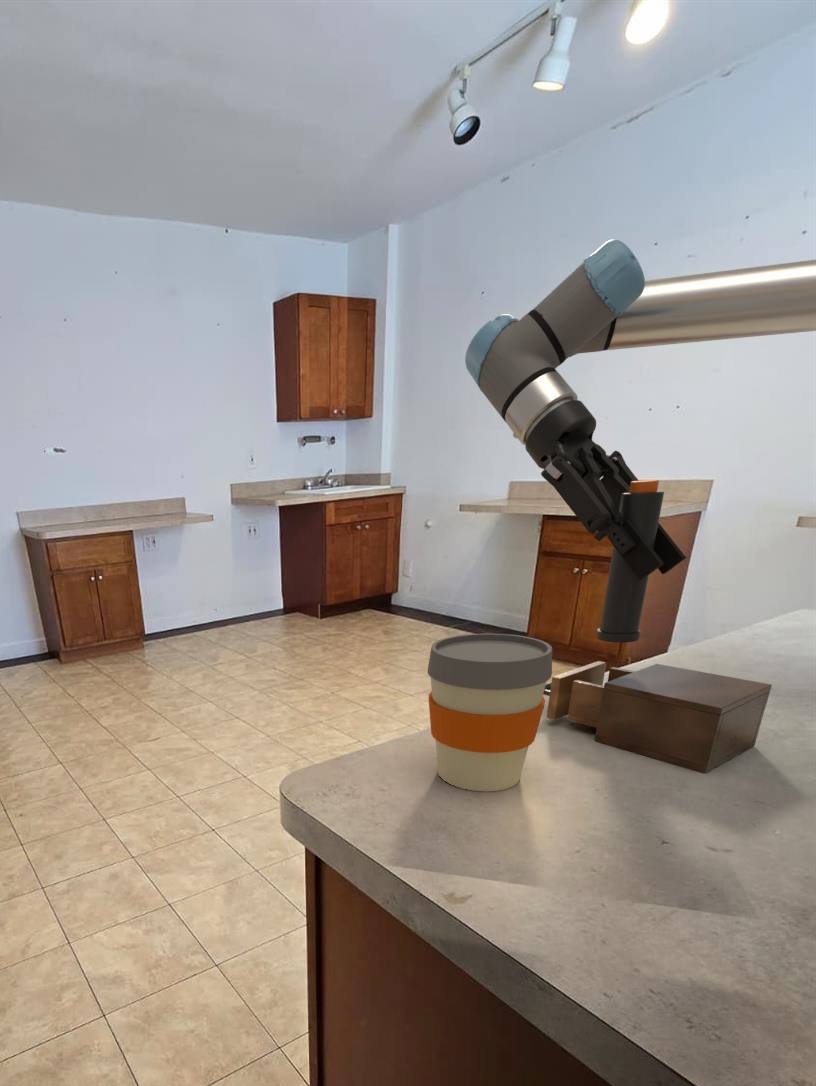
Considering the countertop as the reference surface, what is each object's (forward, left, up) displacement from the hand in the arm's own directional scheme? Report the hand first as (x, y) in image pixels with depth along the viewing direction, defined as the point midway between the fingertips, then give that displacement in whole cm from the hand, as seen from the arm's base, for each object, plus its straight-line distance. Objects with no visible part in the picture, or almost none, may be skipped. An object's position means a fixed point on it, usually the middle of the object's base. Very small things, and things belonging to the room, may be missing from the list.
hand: (662, 568), depth 74 cm
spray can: (+3, -2, -9) cm, 10 cm away
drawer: (+4, -2, -19) cm, 20 cm away
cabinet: (-4, +4, -20) cm, 21 cm away
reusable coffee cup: (+19, +17, -20) cm, 32 cm away
